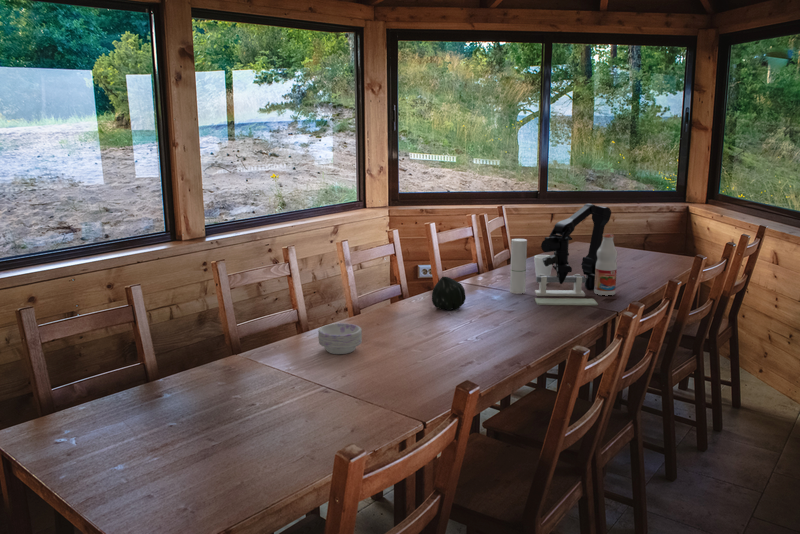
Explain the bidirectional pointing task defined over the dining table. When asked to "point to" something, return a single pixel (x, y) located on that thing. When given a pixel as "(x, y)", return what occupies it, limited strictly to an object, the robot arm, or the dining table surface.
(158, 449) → the dining table surface
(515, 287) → the cylindrical container
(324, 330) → the paper bowls
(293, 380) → the dining table surface
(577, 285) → the stand
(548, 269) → the foam cup
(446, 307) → the squash
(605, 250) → the fruit juice
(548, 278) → the metal rail
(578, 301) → the pale sage plank
